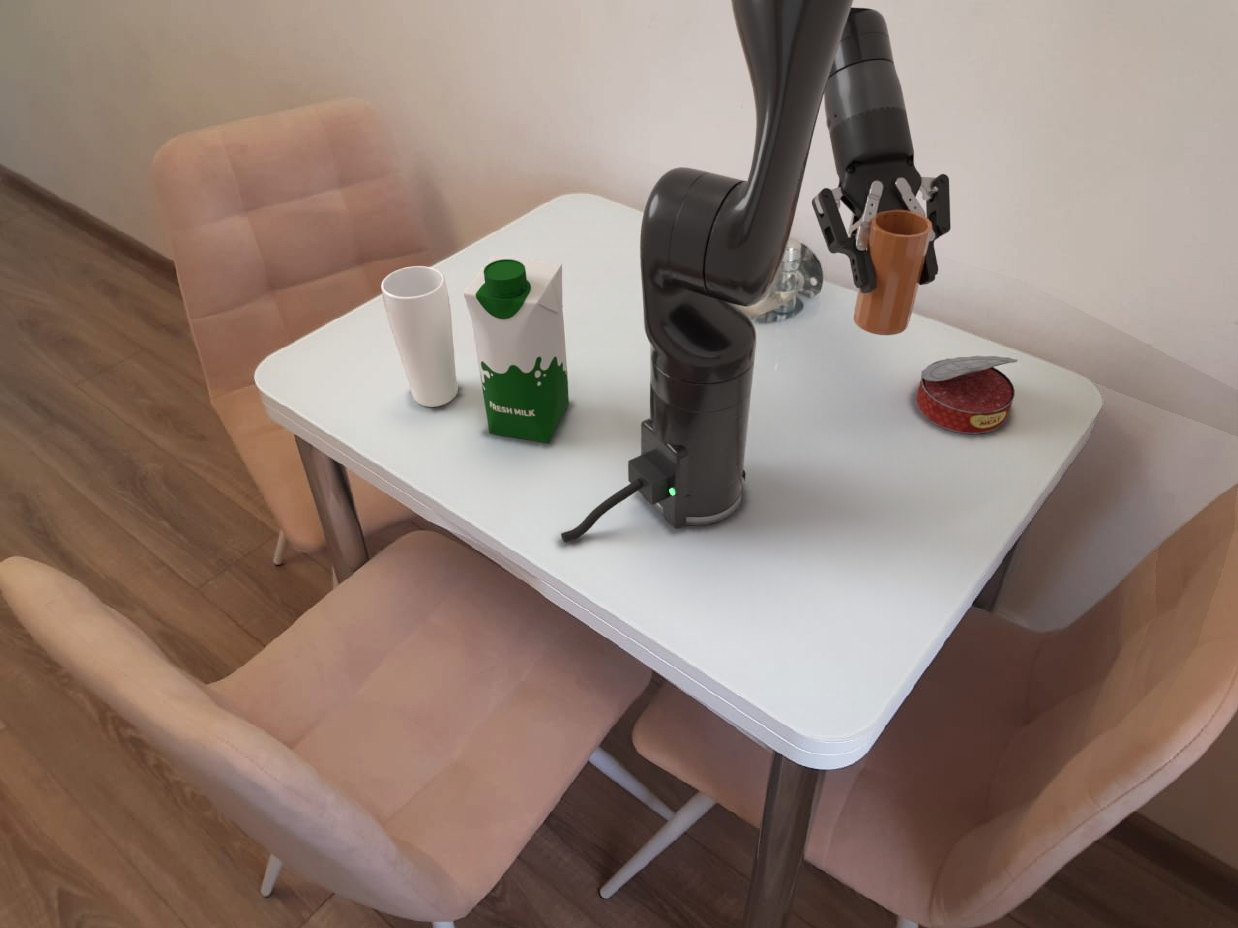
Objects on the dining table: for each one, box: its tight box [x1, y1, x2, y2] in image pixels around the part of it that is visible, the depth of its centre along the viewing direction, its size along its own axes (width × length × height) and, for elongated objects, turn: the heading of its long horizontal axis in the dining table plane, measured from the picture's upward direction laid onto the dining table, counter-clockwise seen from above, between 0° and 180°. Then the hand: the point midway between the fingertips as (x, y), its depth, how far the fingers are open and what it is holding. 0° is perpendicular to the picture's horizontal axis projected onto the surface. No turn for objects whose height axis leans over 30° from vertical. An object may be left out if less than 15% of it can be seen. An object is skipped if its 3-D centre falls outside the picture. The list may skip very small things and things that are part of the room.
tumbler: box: [852, 210, 932, 336], centre depth 88 cm, size 6×6×11 cm
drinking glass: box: [380, 265, 459, 408], centre depth 97 cm, size 7×7×15 cm
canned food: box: [915, 355, 1018, 435], centre depth 97 cm, size 11×10×10 cm
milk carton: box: [463, 254, 570, 444], centre depth 92 cm, size 9×9×20 cm
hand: (898, 286), depth 87 cm, fingers closed on tumbler, 5 cm apart
